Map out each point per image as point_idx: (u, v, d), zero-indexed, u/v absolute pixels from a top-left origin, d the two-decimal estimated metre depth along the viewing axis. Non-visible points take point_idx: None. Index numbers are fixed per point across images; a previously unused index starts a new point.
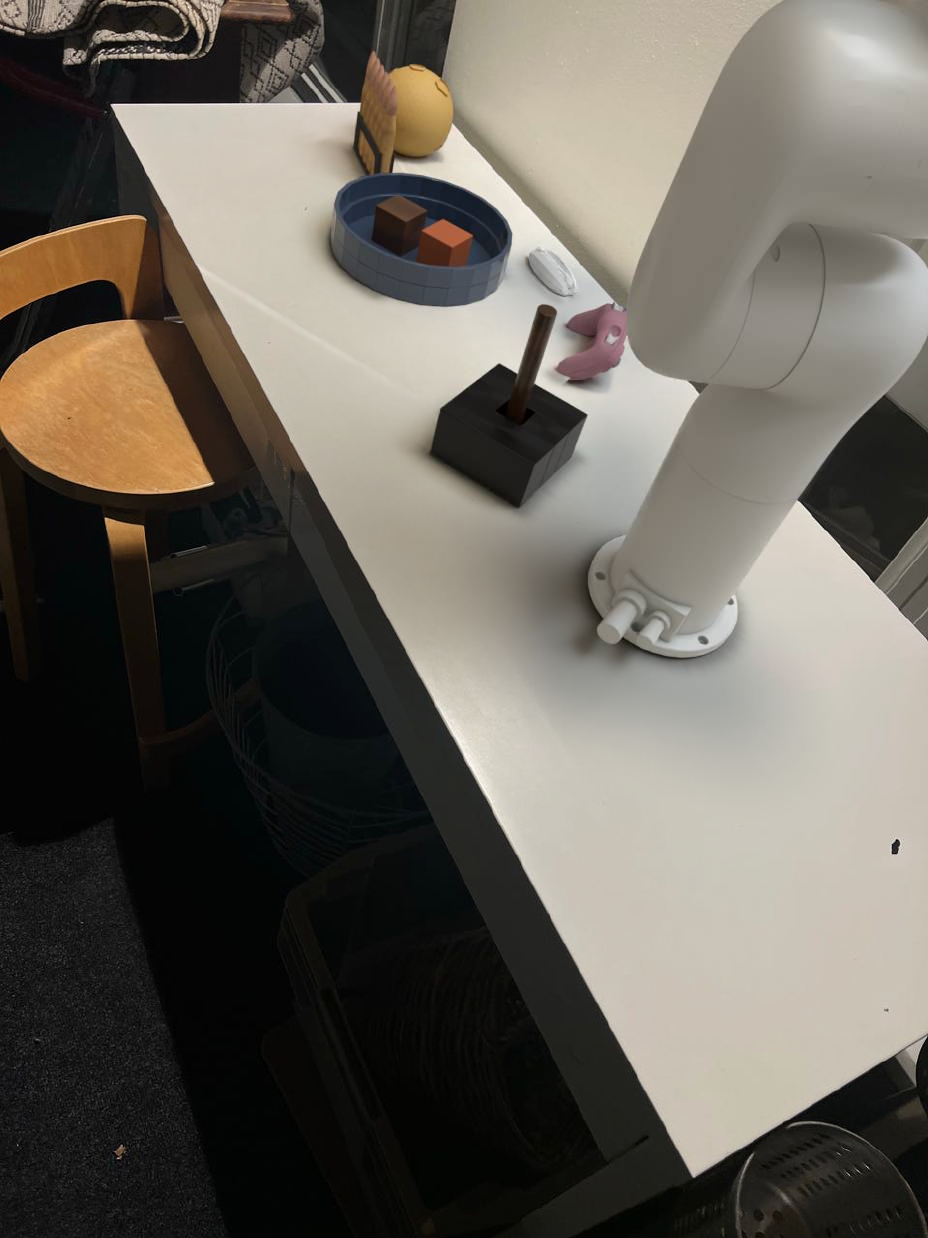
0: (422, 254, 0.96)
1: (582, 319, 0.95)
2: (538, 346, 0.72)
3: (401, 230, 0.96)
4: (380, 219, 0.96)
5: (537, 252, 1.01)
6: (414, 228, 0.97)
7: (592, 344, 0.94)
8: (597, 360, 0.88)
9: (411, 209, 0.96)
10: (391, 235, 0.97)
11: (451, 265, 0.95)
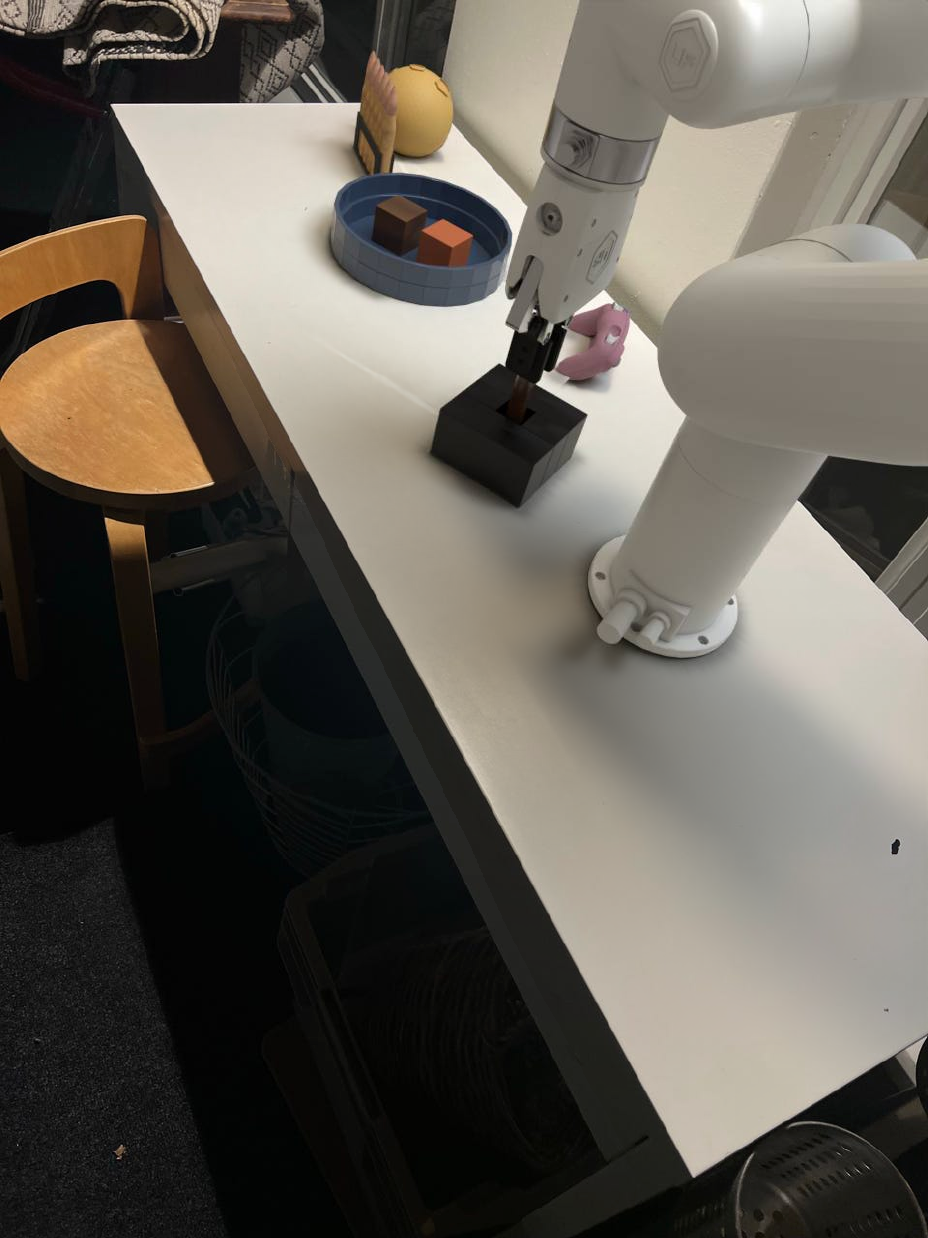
0: (422, 254, 0.96)
1: (582, 319, 0.95)
2: None
3: (401, 230, 0.96)
4: (380, 219, 0.96)
5: None
6: (414, 228, 0.97)
7: (592, 344, 0.94)
8: (597, 360, 0.88)
9: (411, 209, 0.96)
10: (391, 235, 0.97)
11: (451, 265, 0.95)
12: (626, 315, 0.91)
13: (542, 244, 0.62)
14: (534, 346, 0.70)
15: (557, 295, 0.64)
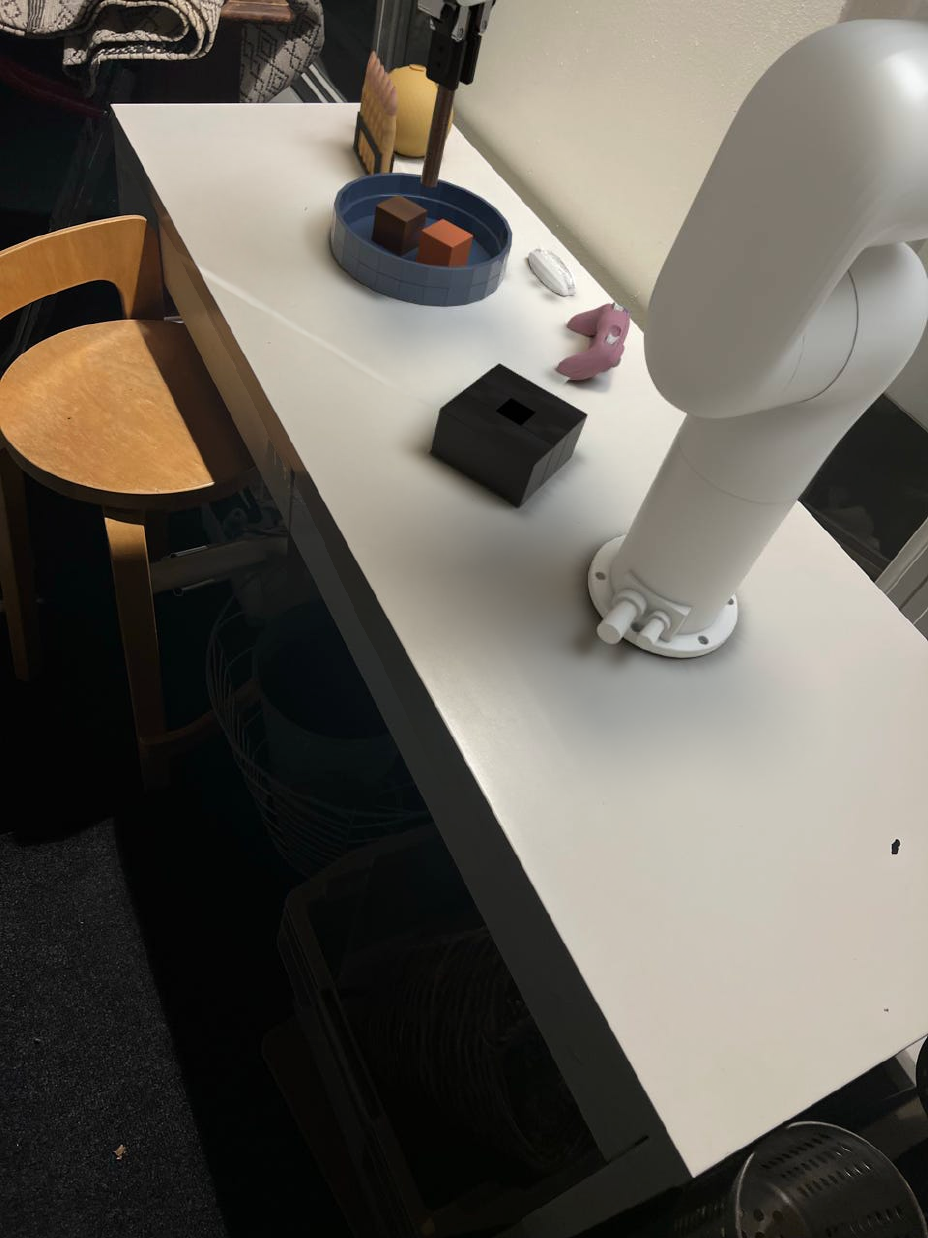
0: (422, 254, 0.96)
1: (582, 319, 0.95)
2: None
3: (401, 230, 0.96)
4: (380, 219, 0.96)
5: (537, 252, 1.01)
6: (414, 228, 0.97)
7: (592, 344, 0.94)
8: (597, 360, 0.88)
9: (411, 209, 0.96)
10: (391, 235, 0.97)
11: (451, 265, 0.95)
12: (626, 315, 0.91)
13: None
14: (449, 44, 0.76)
15: None
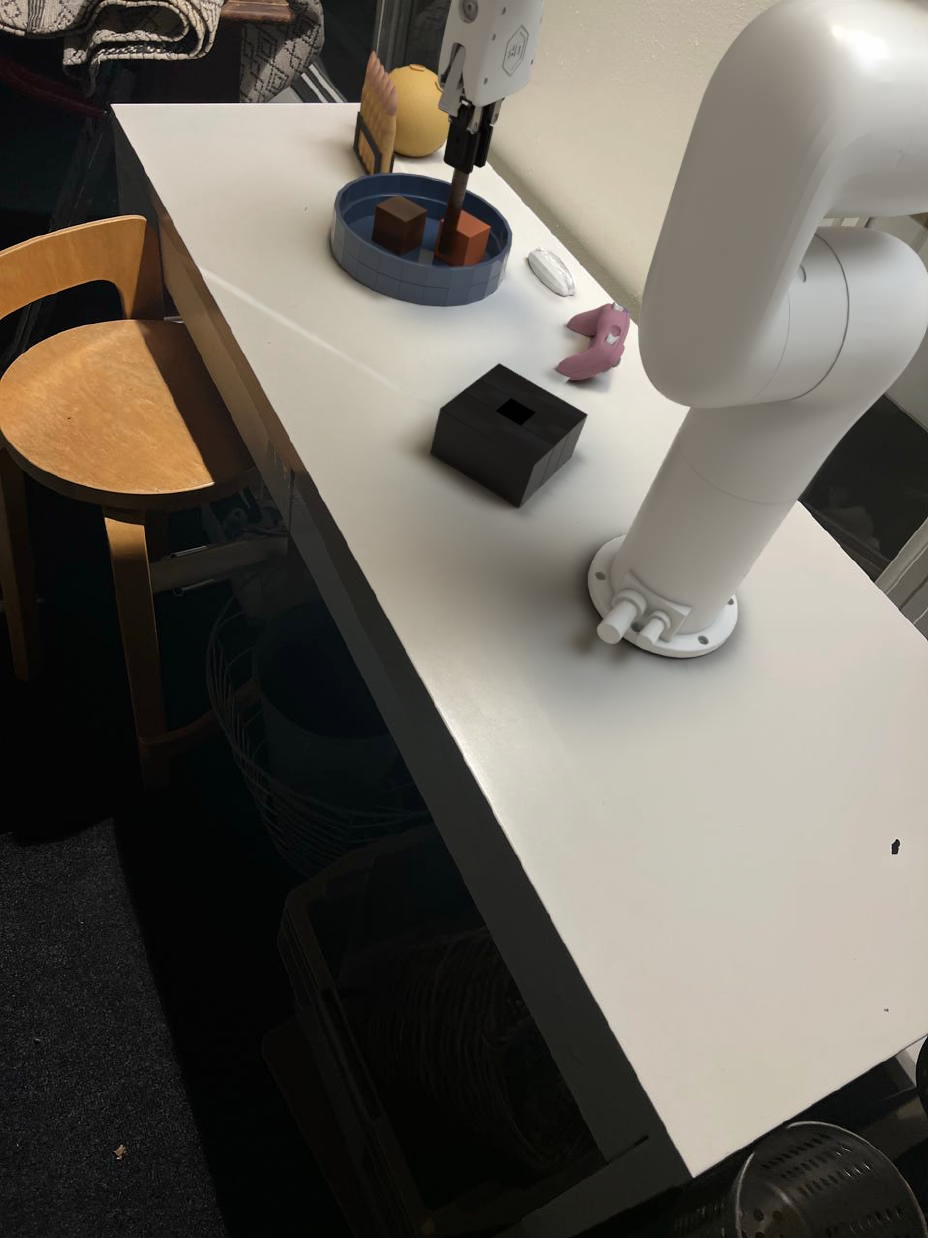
0: None
1: (582, 319, 0.95)
2: None
3: (401, 230, 0.96)
4: (380, 219, 0.96)
5: (537, 252, 1.01)
6: (414, 228, 0.97)
7: (592, 344, 0.94)
8: (598, 360, 0.88)
9: (411, 209, 0.96)
10: (391, 235, 0.97)
11: (468, 255, 0.97)
12: (626, 315, 0.91)
13: (464, 31, 0.77)
14: (465, 136, 0.86)
15: (477, 76, 0.79)
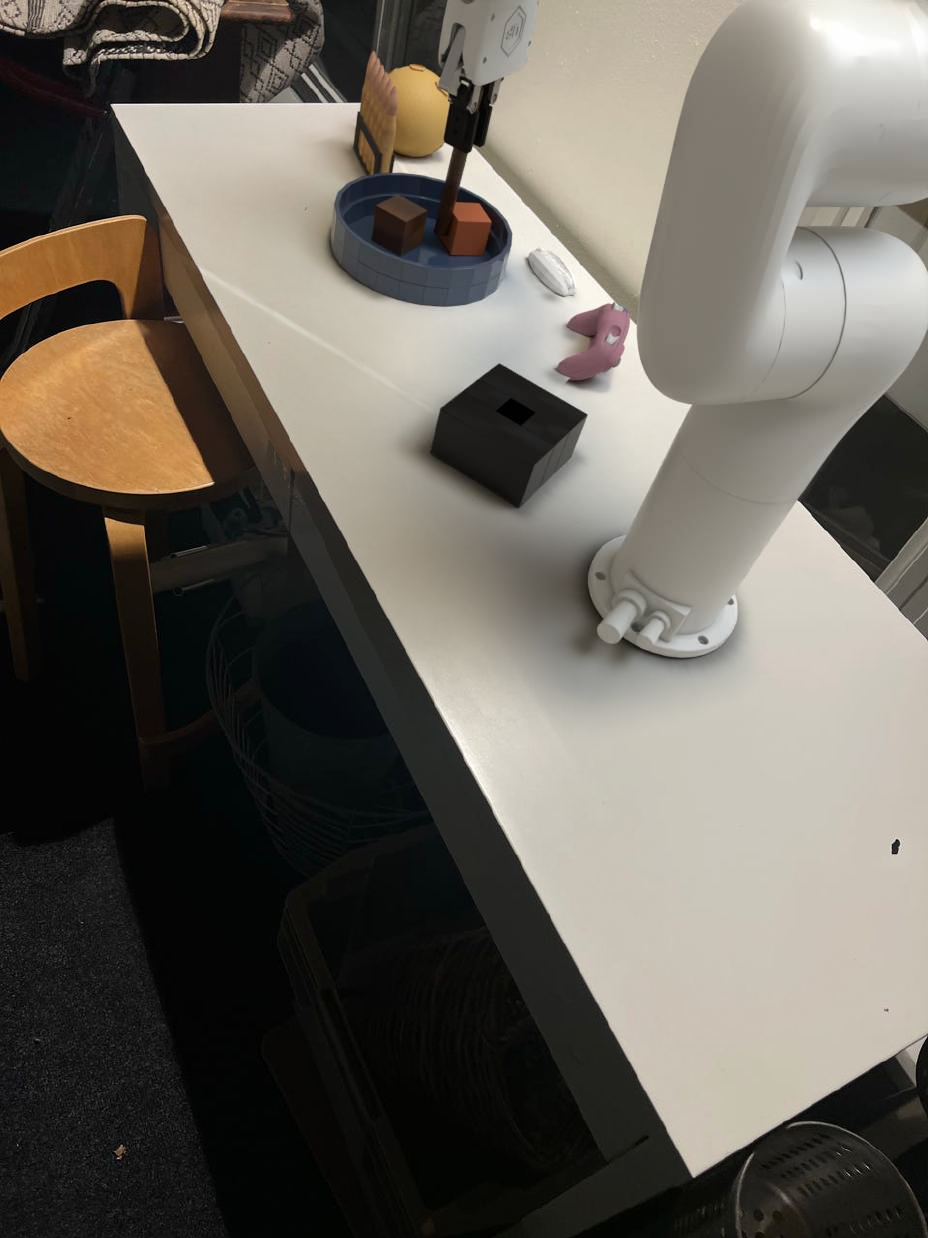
0: None
1: (582, 319, 0.95)
2: None
3: (401, 230, 0.96)
4: (380, 219, 0.96)
5: (537, 252, 1.01)
6: (414, 228, 0.97)
7: (592, 344, 0.94)
8: (598, 360, 0.88)
9: (411, 209, 0.96)
10: (391, 235, 0.97)
11: (458, 240, 0.99)
12: (626, 315, 0.91)
13: (463, 11, 0.80)
14: (464, 115, 0.88)
15: (477, 56, 0.82)
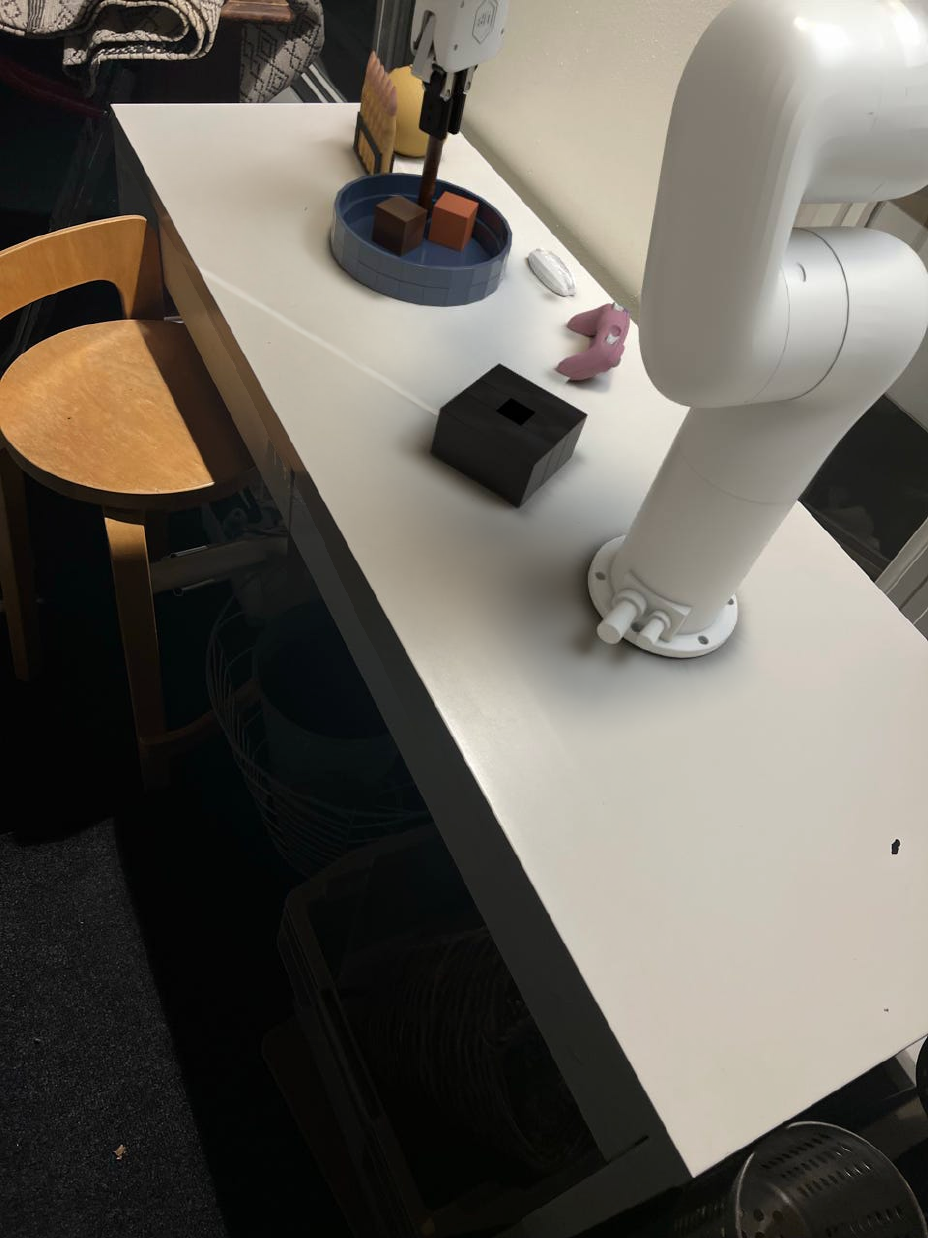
0: None
1: (582, 319, 0.95)
2: None
3: (401, 230, 0.96)
4: (380, 219, 0.96)
5: (537, 252, 1.01)
6: (414, 228, 0.97)
7: (592, 344, 0.94)
8: (598, 360, 0.88)
9: (411, 209, 0.96)
10: (391, 235, 0.97)
11: (435, 226, 1.00)
12: (626, 315, 0.91)
13: None
14: (438, 102, 0.90)
15: (447, 43, 0.83)
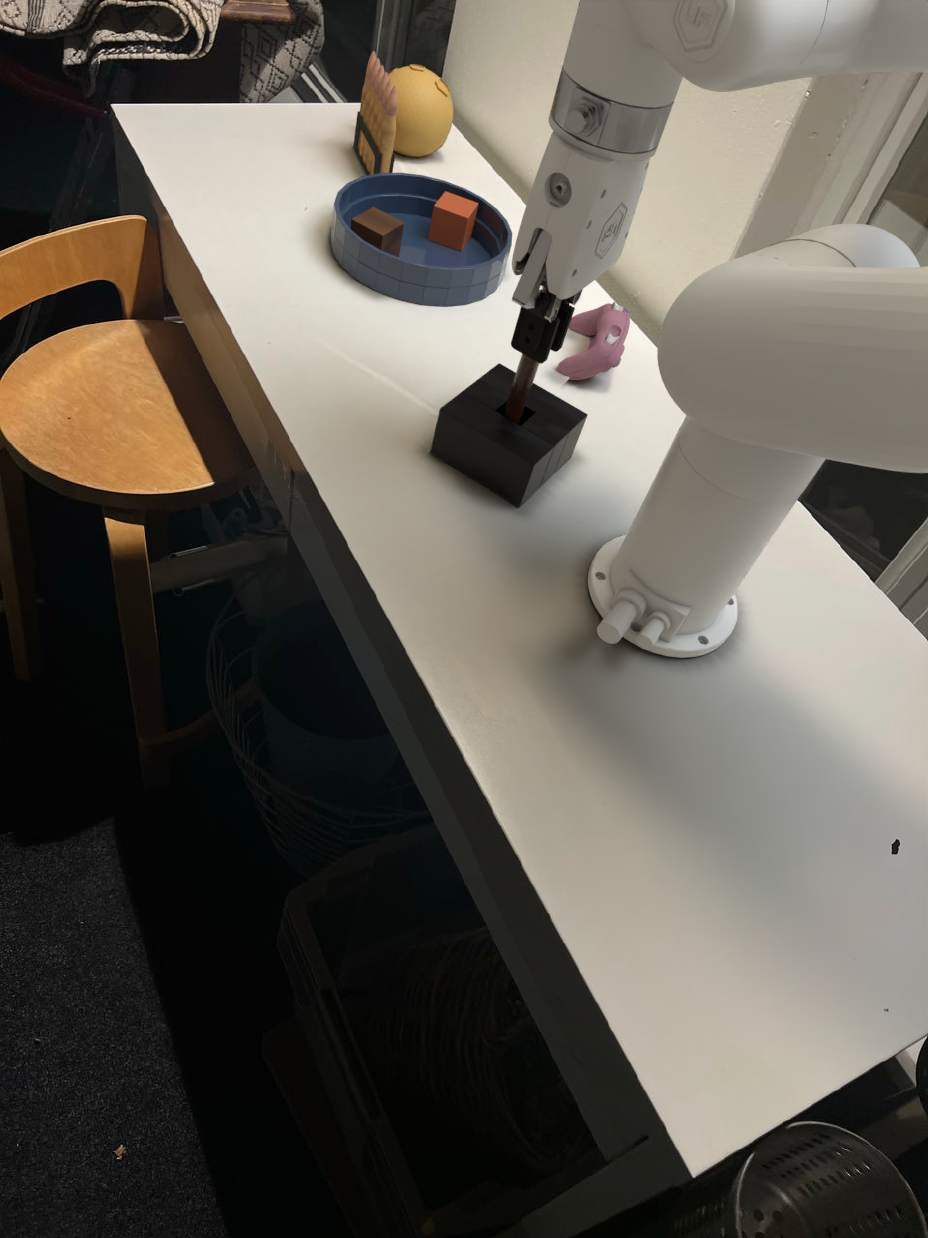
0: None
1: (582, 319, 0.95)
2: None
3: (377, 244, 0.93)
4: (356, 233, 0.94)
5: None
6: (391, 242, 0.94)
7: (592, 344, 0.94)
8: (598, 360, 0.88)
9: (387, 222, 0.94)
10: None
11: (435, 226, 1.00)
12: (626, 315, 0.91)
13: (550, 216, 0.60)
14: (541, 324, 0.69)
15: (565, 269, 0.62)
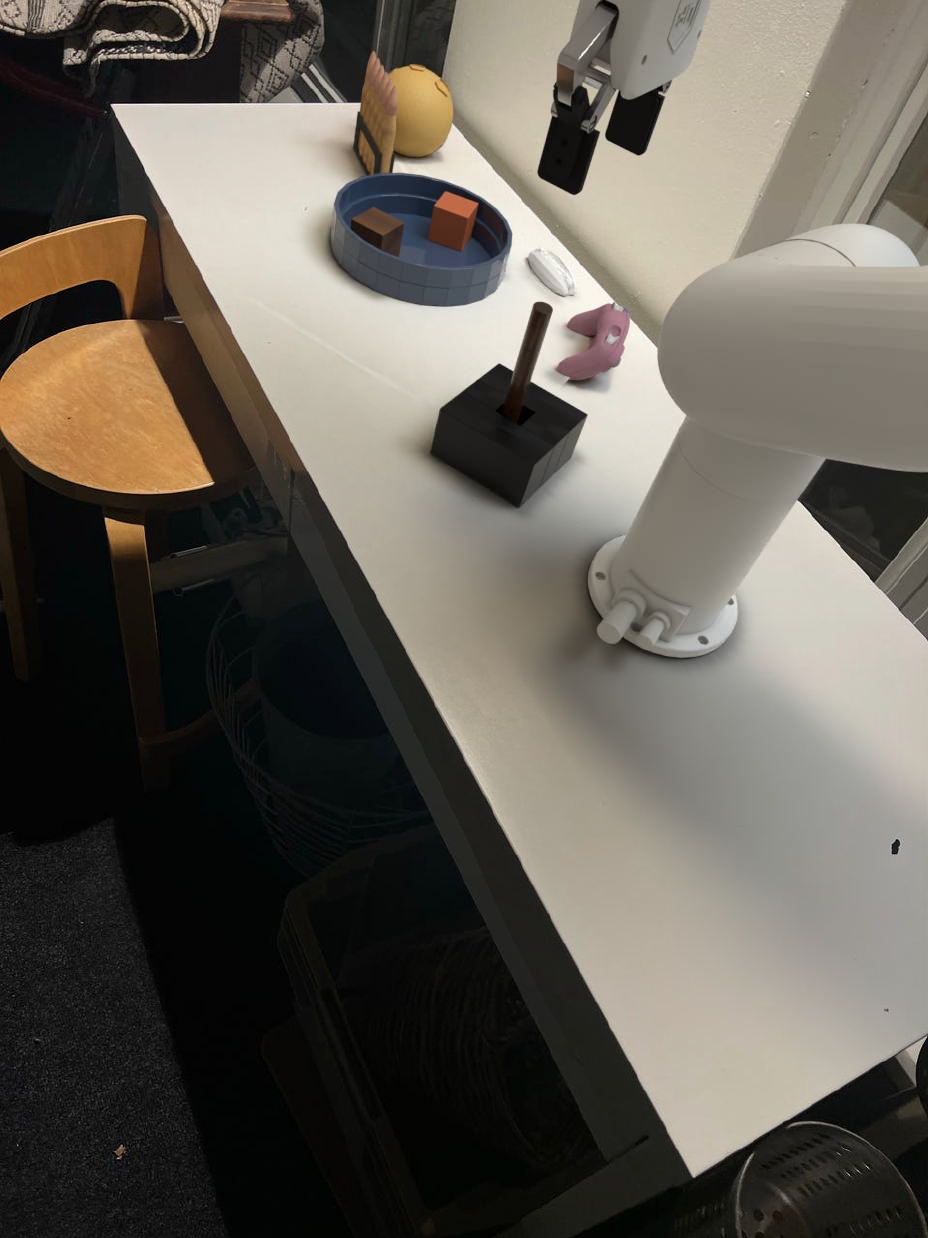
0: None
1: (582, 319, 0.95)
2: (534, 343, 0.72)
3: (377, 244, 0.93)
4: (356, 233, 0.94)
5: (537, 252, 1.01)
6: (391, 242, 0.94)
7: (592, 344, 0.94)
8: (598, 360, 0.88)
9: (387, 222, 0.94)
10: None
11: (435, 226, 1.00)
12: (626, 315, 0.91)
13: None
14: (576, 136, 0.55)
15: (634, 53, 0.52)
